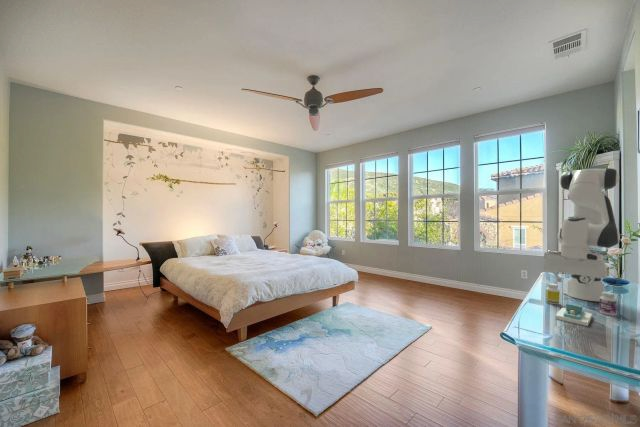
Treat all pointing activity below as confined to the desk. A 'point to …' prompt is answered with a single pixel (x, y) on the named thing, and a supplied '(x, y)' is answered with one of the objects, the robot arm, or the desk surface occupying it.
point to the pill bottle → (608, 304)
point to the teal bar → (576, 308)
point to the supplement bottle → (552, 294)
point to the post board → (583, 320)
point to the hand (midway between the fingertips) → (573, 284)
